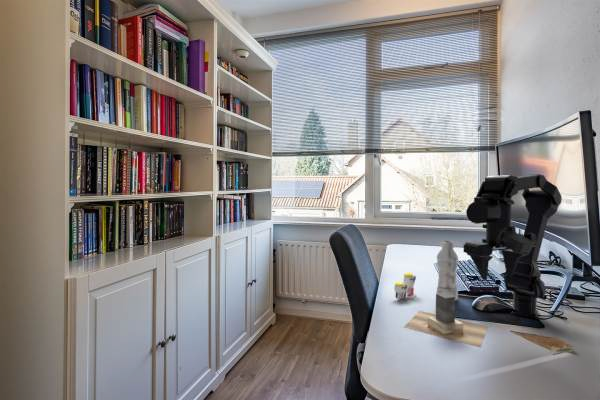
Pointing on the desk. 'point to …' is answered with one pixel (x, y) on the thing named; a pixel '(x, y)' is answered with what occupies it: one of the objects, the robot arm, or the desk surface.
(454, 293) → the plastic bottle
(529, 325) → the desk surface
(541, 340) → the shard
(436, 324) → the grey block on base
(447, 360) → the desk surface
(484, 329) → the oak board
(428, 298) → the desk surface
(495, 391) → the desk surface
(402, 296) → the toy figures
